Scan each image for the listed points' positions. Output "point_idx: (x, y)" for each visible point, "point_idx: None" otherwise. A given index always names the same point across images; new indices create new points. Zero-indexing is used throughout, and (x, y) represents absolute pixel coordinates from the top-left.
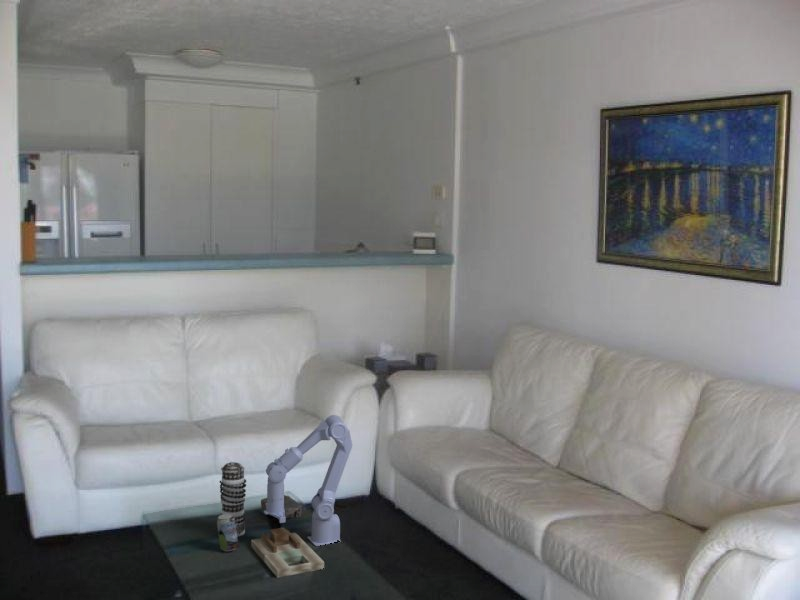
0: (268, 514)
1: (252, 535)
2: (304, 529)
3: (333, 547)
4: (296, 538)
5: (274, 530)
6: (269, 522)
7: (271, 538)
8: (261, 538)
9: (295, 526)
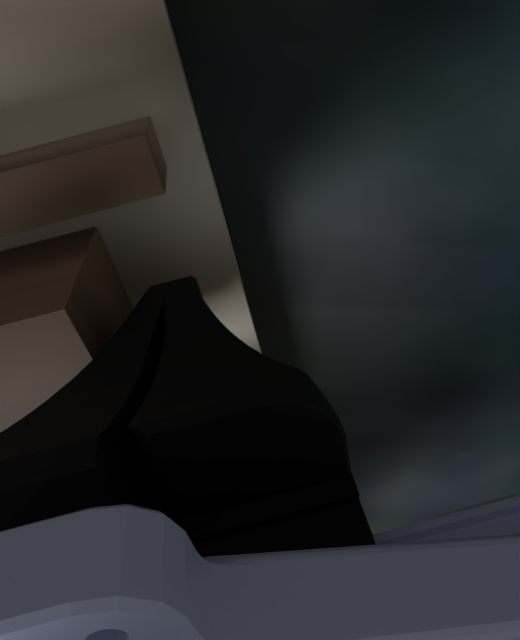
0: (336, 450)
1: (502, 14)
2: (425, 453)
3: None
4: None
5: (30, 376)
6: (173, 367)
7: (6, 273)
8: (149, 119)
9: (500, 408)
